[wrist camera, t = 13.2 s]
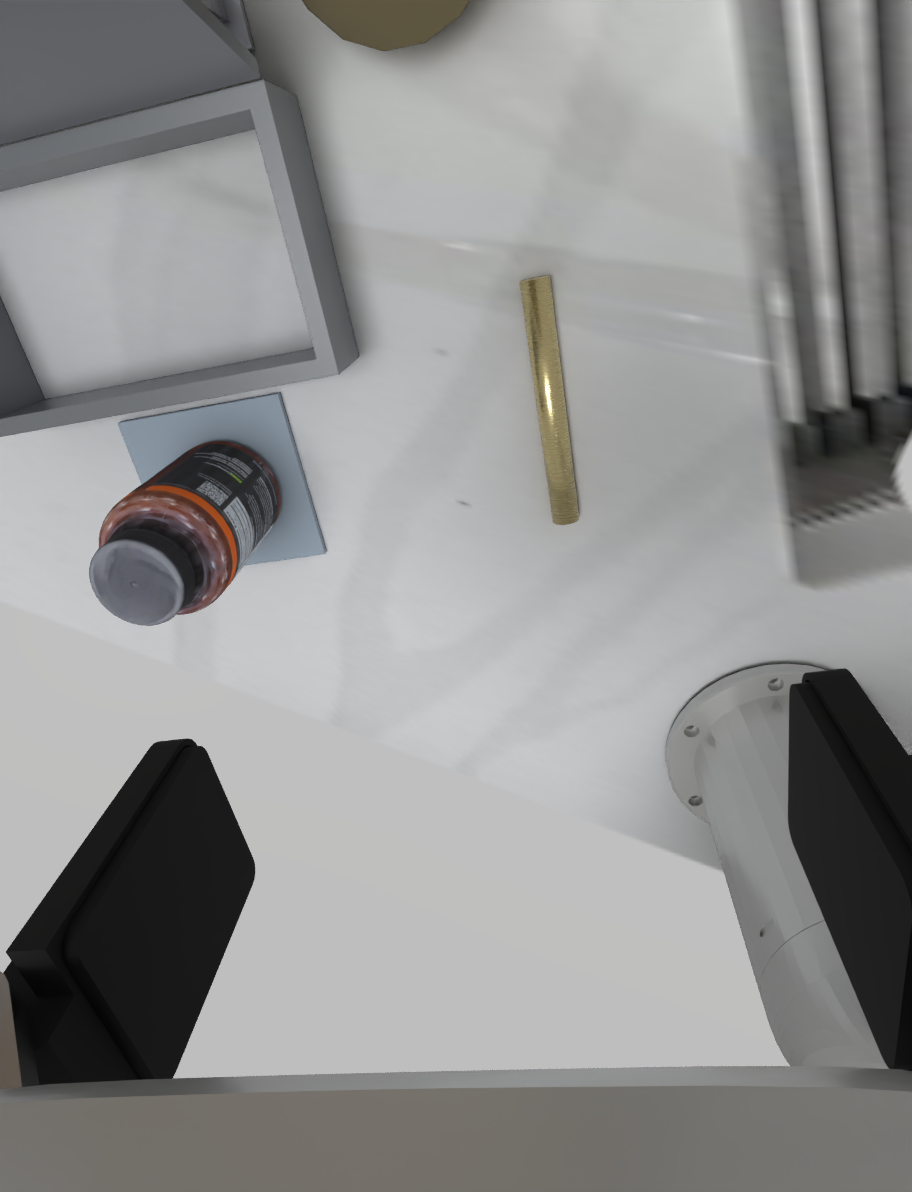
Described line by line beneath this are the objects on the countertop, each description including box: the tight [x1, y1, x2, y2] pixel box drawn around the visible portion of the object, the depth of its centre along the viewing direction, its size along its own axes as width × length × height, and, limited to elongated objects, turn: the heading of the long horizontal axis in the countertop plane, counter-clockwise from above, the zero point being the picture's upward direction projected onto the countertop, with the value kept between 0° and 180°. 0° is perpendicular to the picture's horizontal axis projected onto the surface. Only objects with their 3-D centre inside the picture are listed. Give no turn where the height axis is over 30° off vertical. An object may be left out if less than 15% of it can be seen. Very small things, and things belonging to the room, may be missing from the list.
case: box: [0, 79, 359, 437], centre depth 34 cm, size 11×18×4 cm, turn 101°
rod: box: [520, 275, 579, 525], centre depth 36 cm, size 12×1×1 cm
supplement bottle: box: [89, 441, 281, 626], centre depth 35 cm, size 6×6×11 cm
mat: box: [118, 392, 326, 566], centre depth 40 cm, size 9×9×1 cm
